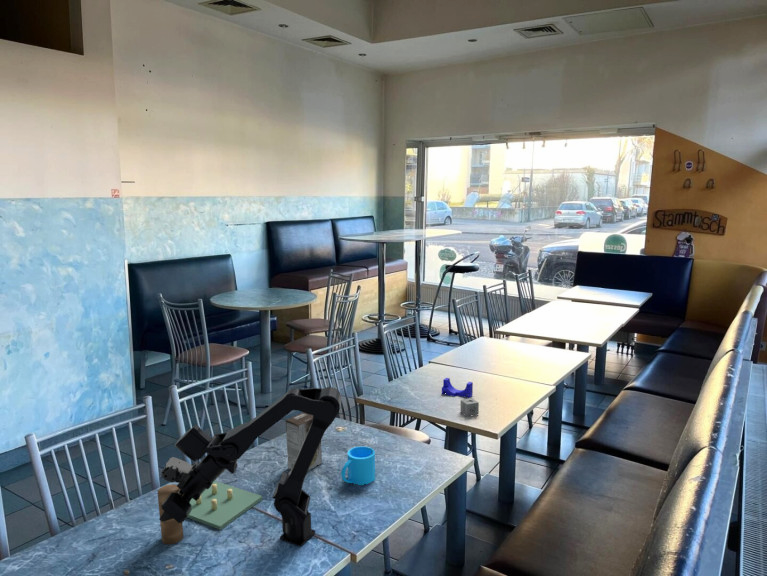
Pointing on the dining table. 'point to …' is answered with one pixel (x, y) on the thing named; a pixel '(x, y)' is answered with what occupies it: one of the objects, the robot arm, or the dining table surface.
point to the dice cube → (469, 407)
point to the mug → (360, 466)
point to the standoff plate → (222, 505)
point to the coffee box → (299, 438)
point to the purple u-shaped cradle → (452, 391)
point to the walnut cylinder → (170, 528)
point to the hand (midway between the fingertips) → (165, 513)
